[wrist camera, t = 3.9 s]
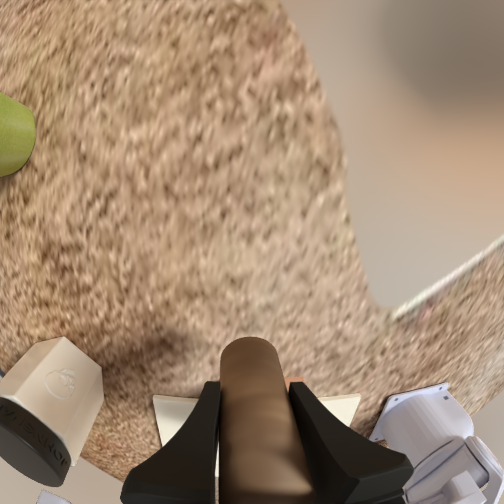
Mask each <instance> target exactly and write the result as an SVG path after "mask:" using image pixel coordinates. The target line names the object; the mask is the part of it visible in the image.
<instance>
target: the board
mask: <svg viewBox="0 0 504 504" xmlns="http://www.w3.org/2000/svg"><path fill="white" fill-rule="evenodd" d="M360 398H361V396H360V394H359V393H355V394H347V395H339V396H329V397H318V398H317V399H318V400H319V401H320V402H321V403H322V404H323V405H324V406H325V407H326V408H327V409H328V410H329V411H330V412H331V413H332V414H333V415H334V416H335V417H337V418H338V419H339V420H340V421H341V422H342V423H344V424H345V425H346V426H348V427H349V425H350V423H351V421H352V418H353V416H354V413H355V411H356V408H357V406H358V403H359V401H360ZM198 400H199V399H196V398H183V397H172V396H163V395H154V396H153V403H154V409H155V414H156V419H157V424H158V428H159V433H160V437H161V442H162V446H164V445H165V444H166V443H167V442H168V441H169V440H170V439H171V438H172V437H173V436H174V435H175V434H176V432H177V431H178V430H179V429H180V428H181V426H182V425H183V424H184V422H185V421H186V419H187V418H188V416H189V415H190V414H191V412H192V410H193V409H194V407H195V405H196V403H197V402H198ZM215 477H219V443H218V451H217V459H216V470H215Z"/></svg>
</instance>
